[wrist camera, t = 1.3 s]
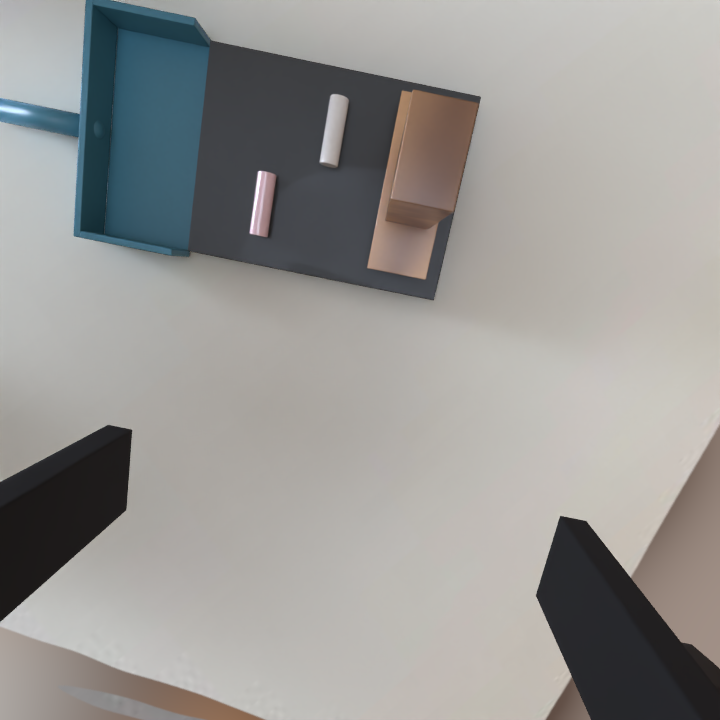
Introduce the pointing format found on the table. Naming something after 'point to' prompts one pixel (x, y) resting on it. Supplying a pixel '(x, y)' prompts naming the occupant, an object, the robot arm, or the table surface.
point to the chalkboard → (299, 167)
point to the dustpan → (133, 125)
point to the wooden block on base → (420, 180)
